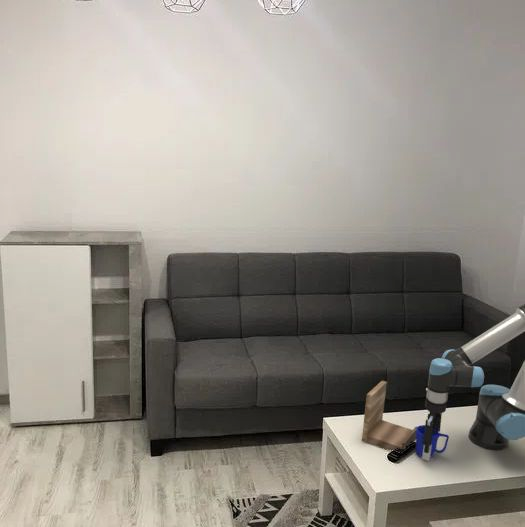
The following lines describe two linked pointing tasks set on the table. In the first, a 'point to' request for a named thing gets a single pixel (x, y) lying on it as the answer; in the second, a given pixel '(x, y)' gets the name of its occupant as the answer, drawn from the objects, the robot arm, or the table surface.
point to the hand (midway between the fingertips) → (429, 454)
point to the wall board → (374, 409)
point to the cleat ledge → (391, 436)
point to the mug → (435, 437)
